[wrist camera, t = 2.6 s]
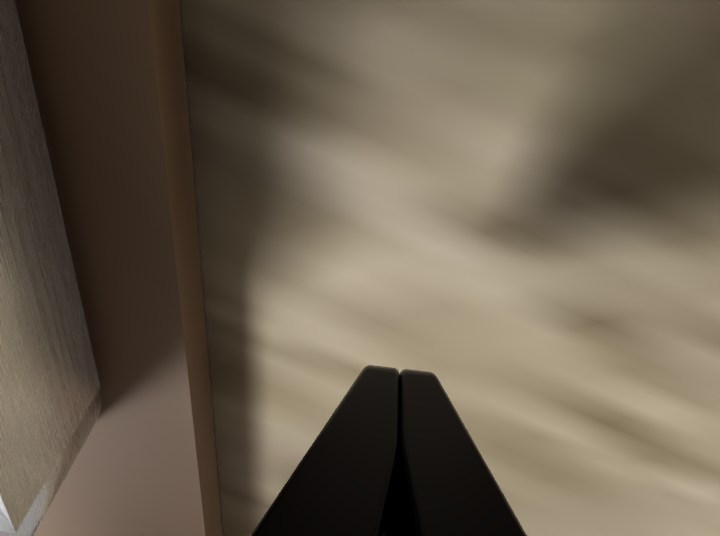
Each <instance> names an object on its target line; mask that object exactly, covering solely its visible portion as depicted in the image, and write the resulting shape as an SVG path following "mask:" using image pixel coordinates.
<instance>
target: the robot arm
mask: <svg viewBox="0 0 720 536" xmlns="http://www.w3.org/2000/svg"><path fill="white" fill-rule="evenodd" d="M251 536H527V535H526V534H525V532H524V530H523V528H522V526H521V525H520V523H519V521H518V519H517V518H516V516H515V514H514V512H513V511H512V509H511V507H510V505H509V503H508V502H507V500H506V498H505V496H504V495H503V493H502V491H501V489H500V488H499V486H498V484H497V482H496V481H495V479H494V477H493V475H492V473H491V472H490V470H489V468H488V466H487V465H486V463H485V461H484V459H483V458H482V456H481V454H480V452H479V451H478V449H477V447H476V445H475V443H474V442H473V440H472V438H471V436H470V435H469V433H468V431H467V429H466V428H465V426H464V424H463V422H462V421H461V419H460V417H459V415H458V413H457V412H456V410H455V408H454V406H453V405H452V403H451V401H450V399H449V398H448V396H447V394H446V392H445V391H444V389H443V387H442V385H441V383H440V382H439V380H438V378H437V377H436V375H435V374H433V373H431V372H425V371H416V370H408V369H405V370H403V371H401V373H400V375H399V372H398V370H397V369H395V368H390V367H381V366H372V365H369V366H366V367H365V368H364V369H363V370H362V371H361V373H360V374H359V376H358V377H357V379H356V380H355V382H354V383H353V385H352V386H351V388H350V389H349V391H348V392H347V394H346V395H345V397H344V398H343V400H342V401H341V403H340V404H339V406H338V407H337V408H336V410H335V411H334V413H333V414H332V416H331V417H330V419H329V420H328V422H327V423H326V425H325V426H324V428H323V429H322V431H321V432H320V434H319V435H318V437H317V438H316V440H315V441H314V443H313V444H312V446H311V447H310V449H309V450H308V451H307V453H306V454H305V456H304V457H303V459H302V460H301V462H300V463H299V465H298V466H297V468H296V469H295V471H294V472H293V474H292V475H291V477H290V478H289V480H288V481H287V483H286V484H285V486H284V487H283V489H282V490H281V492H280V493H279V495H278V496H277V497H276V499H275V500H274V502H273V503H272V505H271V506H270V508H269V509H268V511H267V512H266V514H265V515H264V517H263V518H262V520H261V521H260V523H259V524H258V526H257V527H256V529H255V530H254V532H253V533H252V535H251Z"/></svg>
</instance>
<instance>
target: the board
mask: <svg viewBox="0 0 720 536" xmlns="http://www.w3.org/2000/svg"><path fill="white" fill-rule="evenodd" d="M15 3H16V8H17V12H18V17H19V21H20V26H21V31H22V35H23V40H24V44H25V49H26V53H27V58H28V62H29V67H30V71H31V76H32V80H33V85H34V89H35V94H36V98H37V103H38V107H39V112H40V116H41V121H42V125H43V130H44V134H45V139H46V144H47V148H48V153H49V157H50V162H51V166H52V171H53V175H54V180H55V184H56V189H57V193H58V198H59V202H60V207H61V211H62V216H63V220H64V225H65V229H66V234H67V238H68V243H69V247H70V252H71V257H72V261H73V266H74V270H75V275H76V279H77V284H78V288H79V293H80V297H81V302H82V306H83V311H84V315H85V320H86V324H87V329H88V333H89V338H90V342H91V347H92V351H93V356H94V360H95V365H96V370H97V374H98V379H99V383H100V388H101V395H102V404H101V411H100V414H99V418H98V420H97V421H96V423H95V425H94V427H93V429H92V431H91V432H90V434H89V436H88V438H87V440H86V441H85V443H84V445H83V447H82V449H81V450H80V452H79V454H78V456H77V458H76V459H75V461H74V463H73V465H72V467H71V468H70V470H69V472H68V474H67V476H66V477H65V479H64V481H63V483H62V485H61V486H60V488H59V490H58V492H57V494H56V496H55V497H54V499H53V501H52V503H51V505H50V506H49V508H48V510H47V512H46V514H45V515H44V517H43V519H42V521H41V523H40V524H39V526H38V528H37V530H36V532H35V533H34V535H33V536H223V531H222V519H221V507H220V494H219V482H218V469H217V457H216V445H215V432H214V420H213V407H212V395H211V383H210V370H209V358H208V345H207V333H206V321H205V308H204V296H203V283H202V271H201V259H200V246H199V234H198V221H197V209H196V197H195V184H194V172H193V159H192V147H191V135H190V122H189V110H188V97H187V85H186V73H185V60H184V48H183V36H182V23H181V11H180V0H15Z"/></svg>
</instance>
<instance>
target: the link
mask: <svg viewBox="0 0 720 536" xmlns="http://www.w3.org/2000/svg"><path fill="white" fill-rule="evenodd" d="M101 404H102V395H101V388H100V383H99V379H98V374H97V370H96V365H95V360H94V356H93V351H92V347H91V342H90V338H89V333H88V329H87V324H86V320H85V315H84V311H83V306H82V302H81V297H80V293H79V288H78V284H77V279H76V275H75V270H74V266H73V261H72V257H71V252H70V247H69V243H68V238H67V234H66V229H65V225H64V220H63V216H62V211H61V207H60V202H59V198H58V193H57V189H56V184H55V180H54V175H53V171H52V166H51V162H50V157H49V153H48V148H47V144H46V139H45V134H44V130H43V125H42V121H41V116H40V112H39V107H38V103H37V98H36V94H35V89H34V85H33V80H32V76H31V71H30V67H29V62H28V58H27V53H26V49H25V44H24V40H23V35H22V31H21V26H20V21H19V17H18V12H17V8H16V3H15V0H0V536H33V535H34V533H35V532H36V530H37V528H38V526H39V524H40V523H41V521H42V519H43V517H44V515H45V514H46V512H47V510H48V508H49V506H50V505H51V503H52V501H53V499H54V497H55V496H56V494H57V492H58V490H59V488H60V486H61V485H62V483H63V481H64V479H65V477H66V476H67V474H68V472H69V470H70V468H71V467H72V465H73V463H74V461H75V459H76V458H77V456H78V454H79V452H80V450H81V449H82V447H83V445H84V443H85V441H86V440H87V438H88V436H89V434H90V432H91V431H92V429H93V427H94V425H95V423H96V421H97V420H98V418H99V414H100V411H101Z"/></svg>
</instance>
